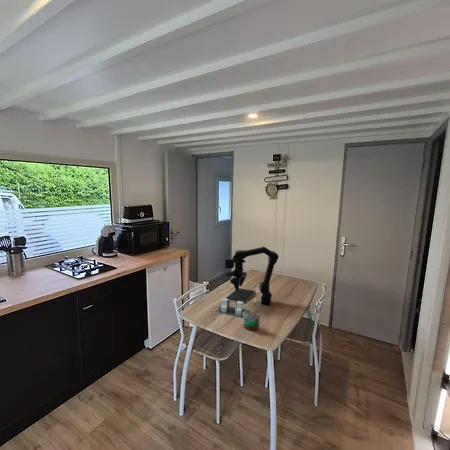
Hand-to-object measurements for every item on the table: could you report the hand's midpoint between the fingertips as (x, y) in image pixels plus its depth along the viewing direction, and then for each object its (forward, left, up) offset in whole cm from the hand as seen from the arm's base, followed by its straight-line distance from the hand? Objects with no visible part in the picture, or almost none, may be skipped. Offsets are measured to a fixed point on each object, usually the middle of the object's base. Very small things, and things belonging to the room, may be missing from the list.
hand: (238, 288), depth 187 cm
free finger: (-6, +13, -11) cm, 18 cm away
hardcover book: (+4, -13, -13) cm, 19 cm away
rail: (-1, +13, -12) cm, 18 cm away
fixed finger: (+5, +13, -11) cm, 18 cm away
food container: (-18, +28, -12) cm, 36 cm away
